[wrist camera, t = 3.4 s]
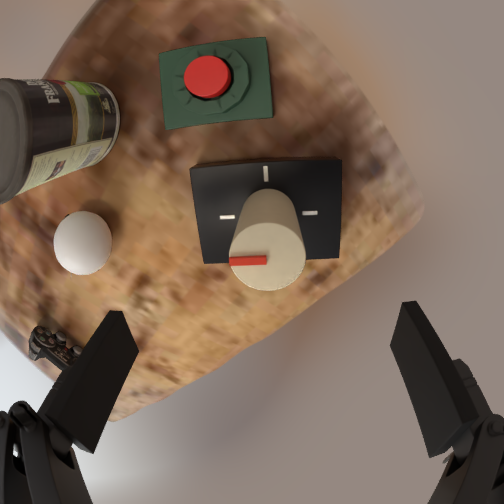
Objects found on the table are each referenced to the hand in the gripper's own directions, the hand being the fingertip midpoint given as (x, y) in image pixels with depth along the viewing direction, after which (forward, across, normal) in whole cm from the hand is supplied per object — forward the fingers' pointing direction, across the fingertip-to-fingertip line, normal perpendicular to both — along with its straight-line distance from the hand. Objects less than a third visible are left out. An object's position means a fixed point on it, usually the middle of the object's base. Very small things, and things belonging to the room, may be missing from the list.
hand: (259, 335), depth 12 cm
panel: (+18, 0, 0) cm, 18 cm away
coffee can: (+19, -20, +12) cm, 30 cm away
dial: (+16, 0, 0) cm, 16 cm away
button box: (+18, -4, +13) cm, 23 cm away
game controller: (+19, -38, -23) cm, 48 cm away
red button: (+15, -4, +13) cm, 20 cm away
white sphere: (+19, -22, -2) cm, 29 cm away
